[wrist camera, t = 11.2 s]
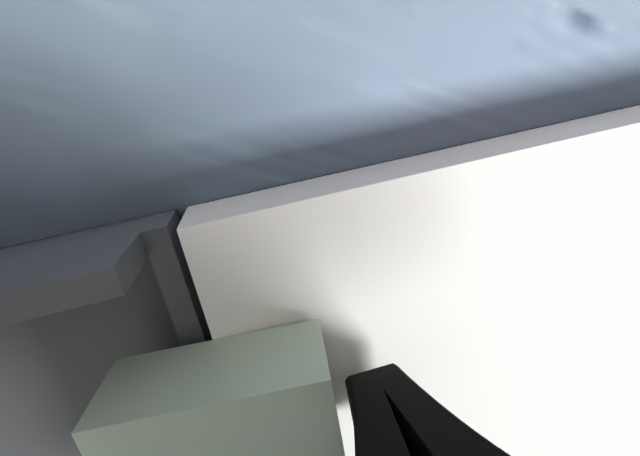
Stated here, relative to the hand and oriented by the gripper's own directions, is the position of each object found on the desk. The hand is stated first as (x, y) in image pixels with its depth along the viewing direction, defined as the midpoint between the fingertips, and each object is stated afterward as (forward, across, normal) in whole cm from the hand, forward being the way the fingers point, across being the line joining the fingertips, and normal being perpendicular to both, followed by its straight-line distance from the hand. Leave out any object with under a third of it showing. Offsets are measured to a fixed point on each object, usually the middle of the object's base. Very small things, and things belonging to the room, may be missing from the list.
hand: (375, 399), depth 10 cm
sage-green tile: (+1, +4, 0) cm, 4 cm away
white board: (+3, -4, +4) cm, 6 cm away
